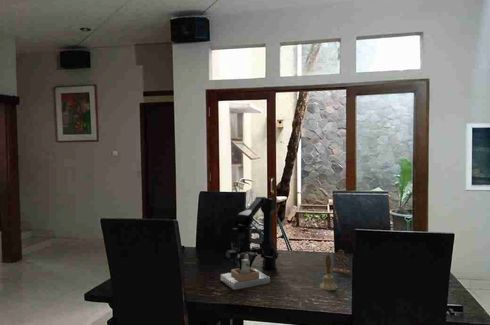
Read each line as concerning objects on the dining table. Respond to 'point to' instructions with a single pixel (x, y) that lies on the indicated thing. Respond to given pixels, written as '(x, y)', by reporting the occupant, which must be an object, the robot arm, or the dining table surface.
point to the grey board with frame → (244, 279)
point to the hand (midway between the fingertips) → (244, 269)
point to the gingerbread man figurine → (342, 271)
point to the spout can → (245, 267)
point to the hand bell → (328, 277)
